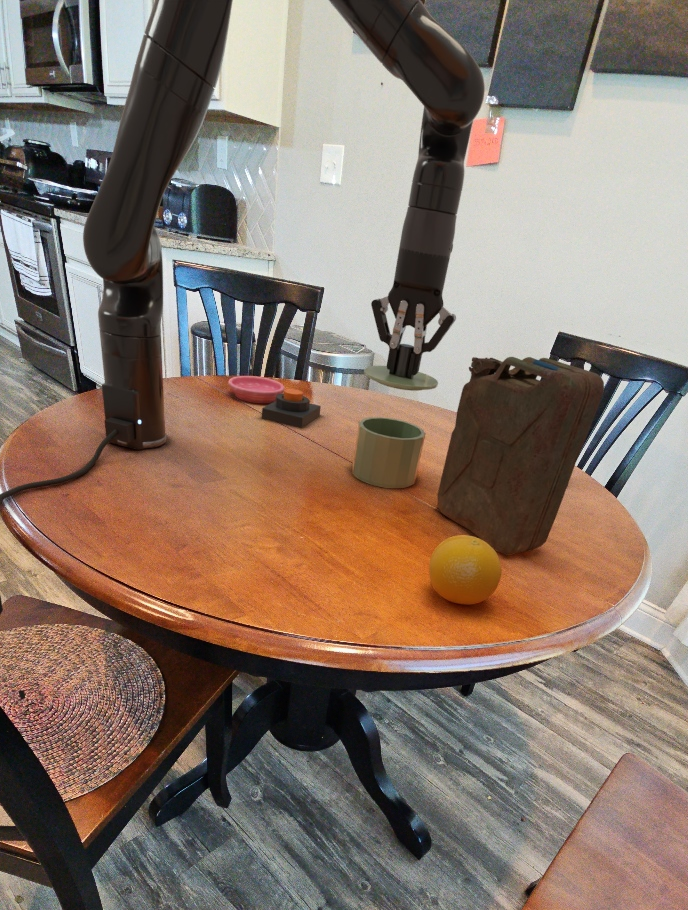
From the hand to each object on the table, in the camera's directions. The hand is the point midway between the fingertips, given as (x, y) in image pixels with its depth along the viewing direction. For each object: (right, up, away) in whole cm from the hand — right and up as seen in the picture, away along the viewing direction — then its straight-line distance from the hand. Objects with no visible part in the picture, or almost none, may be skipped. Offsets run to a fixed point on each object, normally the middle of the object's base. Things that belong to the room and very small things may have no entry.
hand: (401, 374), depth 95 cm
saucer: (-29, +12, +39) cm, 50 cm away
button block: (-21, +5, +30) cm, 37 cm away
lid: (0, 0, 0) cm, 1 cm away
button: (-20, +7, +28) cm, 35 cm away
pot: (-2, -14, +10) cm, 17 cm away
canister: (+13, -26, -3) cm, 29 cm away
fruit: (+5, -38, -21) cm, 43 cm away
